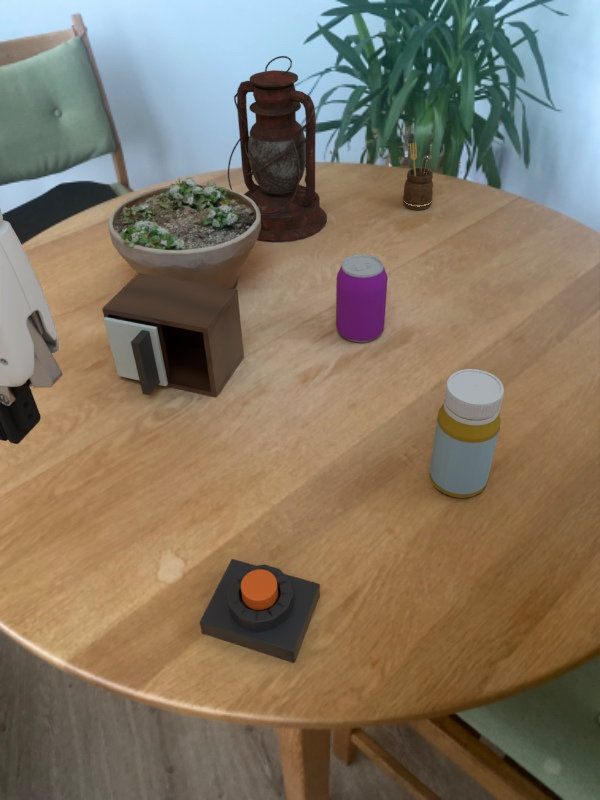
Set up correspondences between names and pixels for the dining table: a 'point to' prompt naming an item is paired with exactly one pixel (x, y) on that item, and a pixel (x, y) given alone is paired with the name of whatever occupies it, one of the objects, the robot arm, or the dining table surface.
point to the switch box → (261, 613)
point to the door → (137, 353)
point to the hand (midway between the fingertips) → (20, 429)
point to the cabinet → (186, 328)
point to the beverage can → (361, 298)
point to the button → (259, 589)
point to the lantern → (279, 156)
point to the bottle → (466, 433)
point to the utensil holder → (418, 184)
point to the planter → (187, 232)
